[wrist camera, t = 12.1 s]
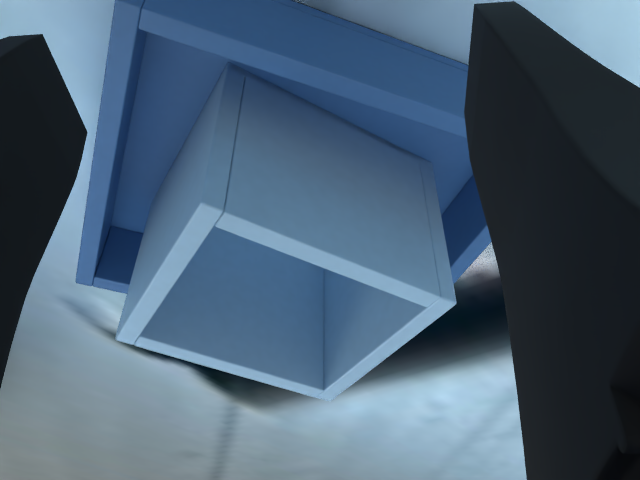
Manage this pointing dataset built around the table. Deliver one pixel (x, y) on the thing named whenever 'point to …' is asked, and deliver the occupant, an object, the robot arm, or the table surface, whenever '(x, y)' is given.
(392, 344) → the pale blue bin
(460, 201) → the steel blue bin
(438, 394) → the table surface
